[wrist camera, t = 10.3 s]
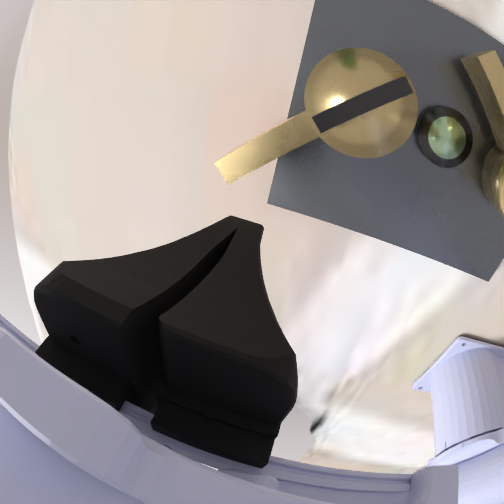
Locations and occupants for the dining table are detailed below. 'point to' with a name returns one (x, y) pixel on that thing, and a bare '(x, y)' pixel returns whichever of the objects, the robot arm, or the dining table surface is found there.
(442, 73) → the plate
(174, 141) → the dining table surface
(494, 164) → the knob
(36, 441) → the robot arm
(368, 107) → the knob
